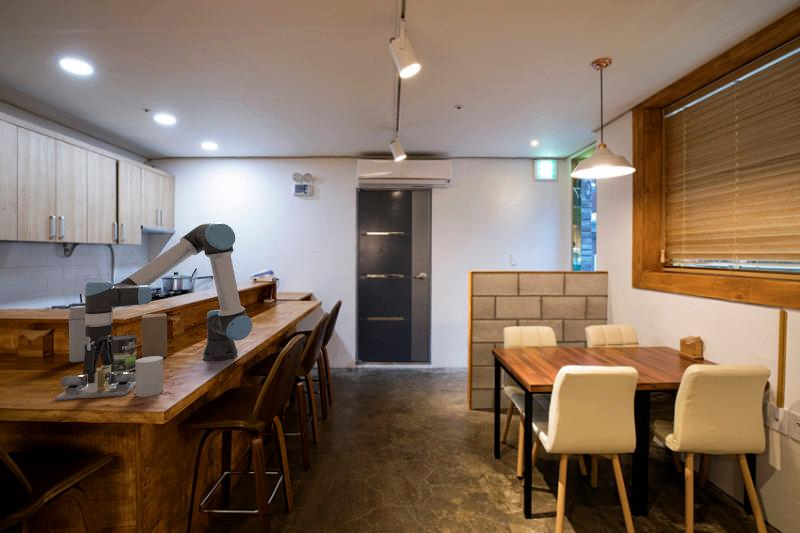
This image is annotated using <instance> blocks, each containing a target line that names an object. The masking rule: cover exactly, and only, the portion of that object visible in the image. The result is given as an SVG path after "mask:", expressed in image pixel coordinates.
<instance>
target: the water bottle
mask: <svg viewBox="0 0 800 533" xmlns="http://www.w3.org/2000/svg"><path fill="white" fill-rule="evenodd" d="M68 314H69V315H68V317H67V319H68V343H69V344H68V354H69V355H68V358H69V360H68V361H69V362H70V363H73V364H74V363H84V356H85V345H86V344H90V340H91V338H90V337H86V336H85V327H86V326H88V325H86V324H85V318H84V316H85V305H77V306H70V307H69V313H68Z"/></svg>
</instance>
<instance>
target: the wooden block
mask: <svg viewBox="0 0 800 533" xmlns="http://www.w3.org/2000/svg"><path fill="white" fill-rule="evenodd" d="M151 356H161V357H163V358H165V357H166V358H167V357H168V316H167V314H166V312H165V313H164V312H163V313H150V314H149V313H147V314H142V315H141V358H144V357H151Z"/></svg>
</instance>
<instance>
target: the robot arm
mask: <svg viewBox="0 0 800 533" xmlns="http://www.w3.org/2000/svg"><path fill="white" fill-rule="evenodd" d="M235 242H236V233H235V231H234V230H233V229H232V227H231V226H230V225H228V224H226V223H223V222H211V223H203V224H200V225H198V226H196V227H194V228H193V229H192V230H190V231H189V232H187V234H185V235H183V236H182V237H180V239H179V242H177V243H176V244H175V245H173V246H171V247H170V248H168V249H167V250H165V251H164V252H163V253H161V254H160V255H158V256H157V257H156V258H154V259H153V260H151V261H149V262H148V263H147V264H145V265H143V266H142V267H141V268H138V269H137V270H136V271H134V272H133V273H132V274H130V275H129V276H128V277H126V278H125V279H122V280H121V281H120V282H117V283H114V284H113V282H112V281H109V280H105V281H102V280H101V281H100V280H99V281H98V280H94V281H88V282H86V284H85V289H84V290H85V292H84V303H85V304H84V306H85V316H84V318H85V324H86V325H88V326H86V327H85V336H86V337H90V344H86V345H85V356H84V362H83V366H82V368H83V369H82V375H85V374H87V393H88V392H97V391H98V373H96V370H97V368H98V364H99V359H100V360H101V363H102V365H100V368H103V367H110V373H111V365H112V364H114V362H113V361H114V354H113V344H112V339H113V336H111V335H113V332H114V330H113V328H114V327H113V324H112V323H113V322H114V321H113V320H114V319H113V318H114V317H113V316H114V314H113V308H114V307H115V308H116V307H127V306H129V307H131V306H142V305H149V304H150V303H151V301H152V297H153V292H152V288H151V287H150V286H152V285H153V283H155V282H157V281H158V280H159V279H160V278H163V277H164V276H165V275H166V274H168V273H169V272H170V271H172V270H174V269H175V268H176V267H178V266H179V265H180V264H182V263H184V261H186V260H187V259H189V258H190V257H192V256H197V255H198V254H200V253H202V252H204V255H205V257H207V258H208V259H209V262H210V266H211V270H212V271H211V272H212V276H213V280H214V284H215V285H214V286H215V288H216V289H215V290H216V294H217V298H218V303H219V308H220V309H215V310H209V311H208V312H207V313H206V314H207V315H206V339H207V340H206V344H205V347H204V351H203V353H202V358H203V360H205V361H224V360H223V359H225V360H229V359H228V358H230V359H233V358H235V357H234V356H236V355H237V354H239V353H238V347H237V346H236V342H235V341H242V340H244V339H246V338H247V337H248V336H249V335H250V334H251V332H252V330H253V320H252V319H251V318H250V317H249V316H247V312H246V307H244V306H242V305H241V300H240V296H239V290H238V285H237V280H236V276H235V271H234V269H235V268H234V265H233V259H232V254H233V253H234V247H233V246H234V244H235ZM237 356H238V355H237ZM237 356H236V357H237ZM232 357H233V358H232Z"/></svg>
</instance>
